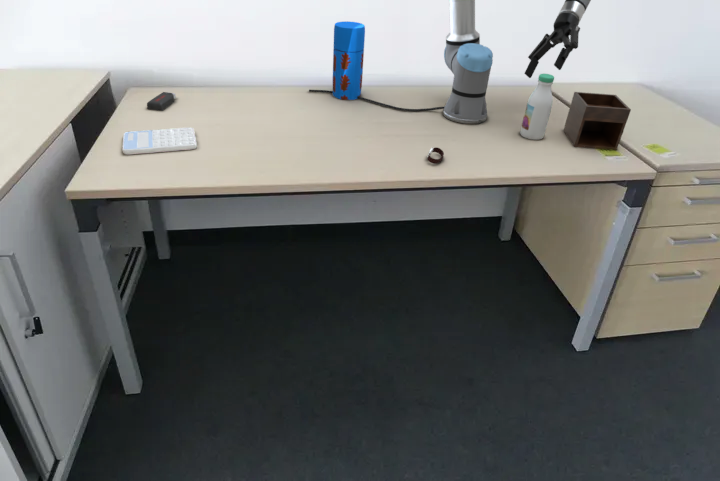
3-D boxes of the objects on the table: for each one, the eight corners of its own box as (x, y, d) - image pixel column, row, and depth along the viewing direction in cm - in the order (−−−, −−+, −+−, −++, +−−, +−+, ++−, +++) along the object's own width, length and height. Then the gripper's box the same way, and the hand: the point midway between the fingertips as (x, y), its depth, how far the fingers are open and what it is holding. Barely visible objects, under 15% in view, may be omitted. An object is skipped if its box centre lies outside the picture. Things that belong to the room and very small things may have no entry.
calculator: (197, 149, 153) (196, 143, 152) (122, 155, 147) (121, 149, 146) (194, 131, 164) (193, 125, 162) (124, 136, 158) (123, 130, 157)
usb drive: (147, 109, 176) (146, 101, 175) (164, 97, 186) (163, 89, 185) (162, 111, 176) (160, 102, 174) (178, 99, 186) (177, 91, 184)
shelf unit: (574, 146, 170) (586, 106, 163) (563, 130, 182) (574, 91, 174) (616, 150, 170) (631, 109, 162) (603, 133, 181) (616, 94, 174)
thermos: (357, 101, 194) (361, 29, 180) (329, 98, 195) (331, 26, 181) (363, 92, 203) (367, 23, 188) (336, 88, 204) (338, 20, 190)
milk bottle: (545, 134, 178) (561, 74, 167) (541, 142, 172) (558, 80, 161) (522, 129, 180) (536, 70, 169) (517, 137, 174) (532, 76, 163)
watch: (430, 153, 160) (432, 142, 158) (445, 156, 159) (447, 145, 157) (423, 163, 154) (424, 151, 152) (439, 166, 153) (440, 155, 151)
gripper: (606, 15, 169) (578, 70, 166) (548, 35, 192) (523, 85, 189) (591, -1, 166) (563, 55, 163) (535, 22, 189) (509, 72, 186)
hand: (541, 71), depth 176 cm, fingers open, 13 cm apart
